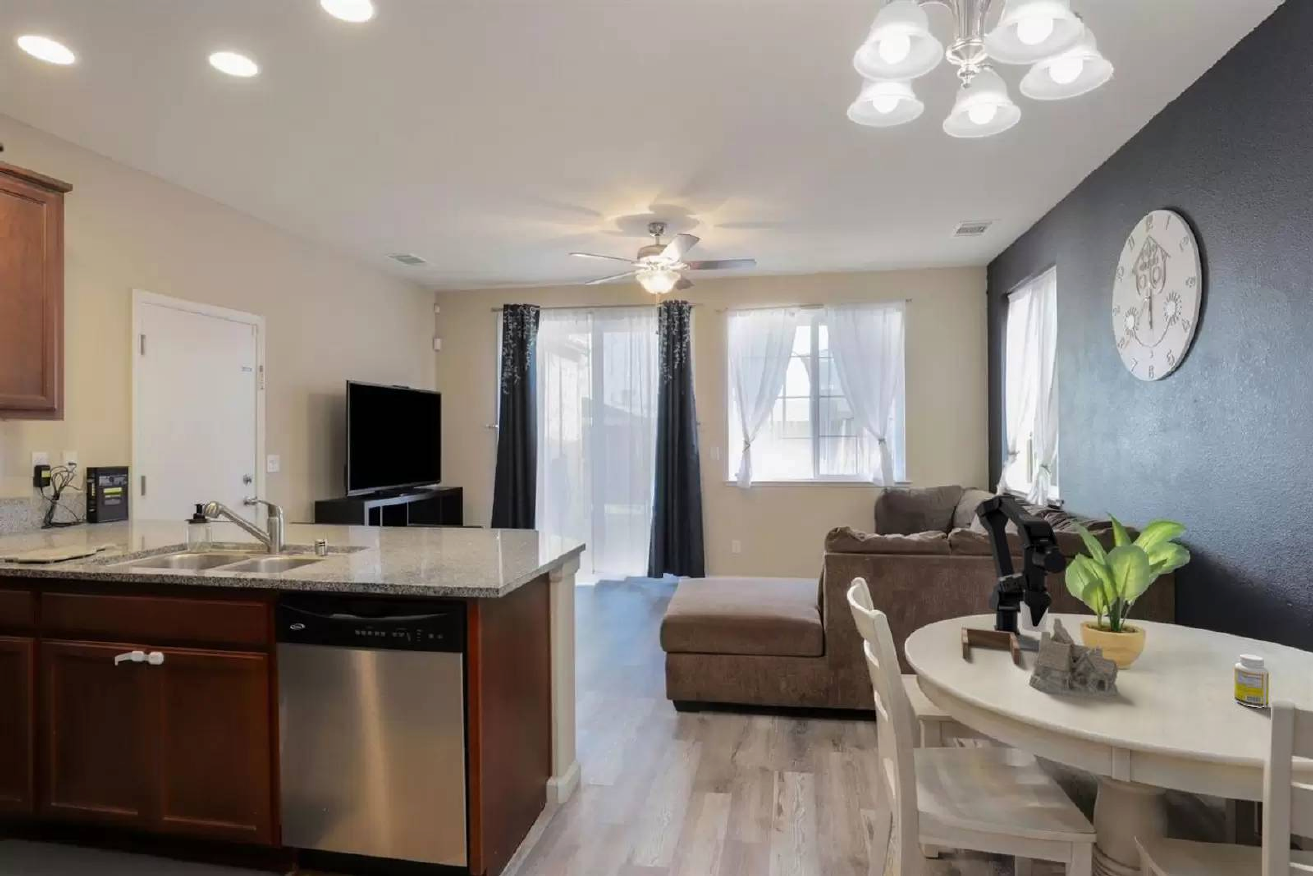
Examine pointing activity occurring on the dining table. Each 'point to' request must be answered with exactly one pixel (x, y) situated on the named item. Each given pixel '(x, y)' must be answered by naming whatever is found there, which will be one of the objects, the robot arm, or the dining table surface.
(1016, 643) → the brown wooden u-shaped piece
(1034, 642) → the coaster
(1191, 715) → the dining table surface
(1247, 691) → the supplement bottle
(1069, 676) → the ceramic cottage
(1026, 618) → the white cup
